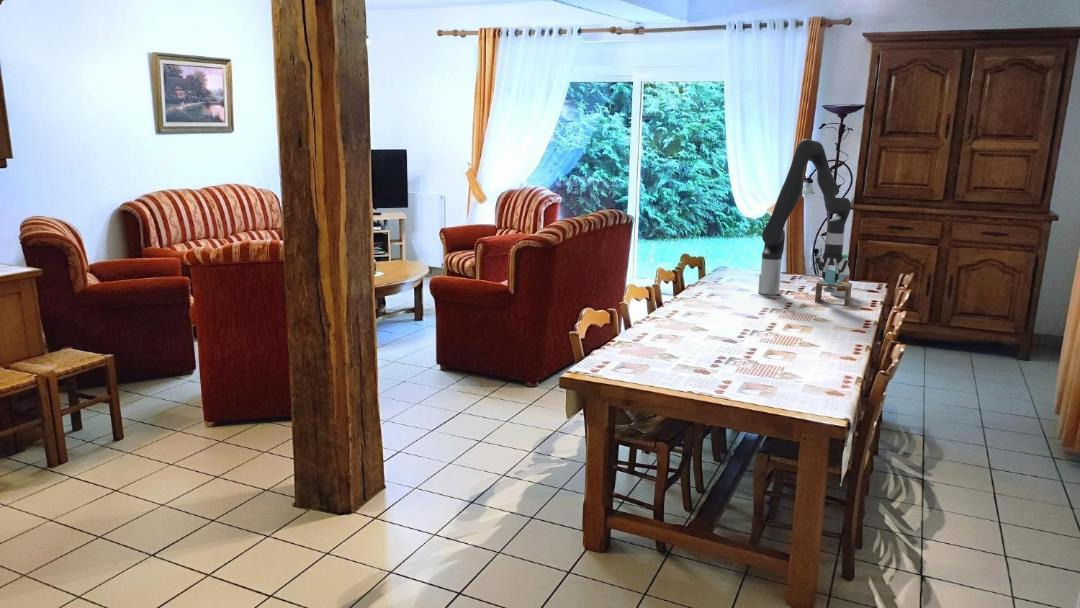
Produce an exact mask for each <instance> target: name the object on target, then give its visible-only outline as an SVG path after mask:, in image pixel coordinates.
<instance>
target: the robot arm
mask: <svg viewBox="0 0 1080 608" xmlns="http://www.w3.org/2000/svg"><path fill="white" fill-rule="evenodd" d="M792 157H793V158H792V160H791V164H790V167H789V170H788V173H787V175H786V178H785V180H784V182H783V184H782V186H781V189H780V191H779V193H778V197H777V200H776V202H775V204H774V207H773V211H772V214H771V216H770V217H769V220H768V222H767V224H766V225H765V227H764V228H763V231H762V234H761V238H762V242H763V243H764V247H763V250H762V253H761V266H760V273H759V280H758V294H761V295H765V294H768V296H769V295H770V296H776V295H777V294H778V295H779V294H780V287H781V274H782V273H781V271H782V261H783V254H784V250H785V249H784V248H785V242H786V241H785V240H786V233H785V229H784V228H785V225H786V223H787V220H788V219H789V217H790V216H791V214H792V213H793V211H794V209H795V207H797V205H798V202H799V201H800V197H801V196H802V193H803V189H804V179H803V174H804V169H805V167H806V164H807V162H811V163H812V164H813V166H814V167H815V170H816V172H817V174H816V180H817V181H816V182H817V185H818V186H819V189H820V191H821V193H822V195H823V200H824V201H823V202H824V206H825V210H826V211H827V213H829V214H832V215H835V217H833V218H831V219H829V220H828V223H827V230H826V235H825V240H824V250H823V251H824V252H823V254H822V256H817V257H816V264H817V267H818V270H819V271H822V280H823V279H824V280H825V274H826V270H827V269H829V266H833V267H835V271H836V273H835V282H836V281H837V280H838V279H839V273H842V272H843V271H844V270H845V268H846V266H847V264H849V259H848V258H847V260H846V259H844V258H843V256H842V254H843V251H844V250H843V249H844V243H845V242H844V241H845V227H846V222H847V221H848V218H849V215H850V212H851V209H852V203H851V201H850V199H849V198H848V197H836V196H837V195H839V193H840V187H839V185H838V183H837V181H836V179H835V178H834V176H833V173H832V171H831V169H830V165H829V161H828V158H827V155H826V152H825V148H824V146H823V144H822V142H819V141H816V140H812V139H808V138H804V139H802V140H800V141H799V143H798V144H797V146H796V148H795V151H794V154H793V156H792ZM823 261H824V262H825V263H824V267H823V263H822V262H823ZM841 261H843V266H842V268H841V270H839V263H840V262H841ZM778 295H777V296H778Z"/></svg>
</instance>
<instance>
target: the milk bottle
mask: <svg viewBox="0 0 1080 608" xmlns="http://www.w3.org/2000/svg"><path fill="white" fill-rule="evenodd" d="M842 256H843V258H844V259H846V260H847V259H848V258H849V257H848V256H849V255H848V254H846V253H842ZM848 264H849V263H848ZM848 264H847V266H846V268H845V270H844V271H843V272H842V273H839V279H838V280H839V282H846V283H850V268H849V265H848ZM842 266H843V261H841V262H840V263H839V270H841V268H842ZM833 269H835V266H833ZM832 288H835V290H834V292H830V295H831V296H834V297H839V298H841V297H843V298H845V291H846V288H838V287H832Z"/></svg>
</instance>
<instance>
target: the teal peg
mask: <svg viewBox="0 0 1080 608" xmlns="http://www.w3.org/2000/svg"><path fill="white" fill-rule="evenodd" d="M835 273H836V271H835V269H834V268H828V269H827V270H826V274H825V280H824V279H823V278H822V279H821V280H822V281H821V283H826V284H828V286H824V287H823V292H827V293H831V292H834V290H835V288H832V284H835V285H837V284H838V283H839V280H837V281H836V282H835Z"/></svg>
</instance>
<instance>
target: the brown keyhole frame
mask: <svg viewBox="0 0 1080 608" xmlns="http://www.w3.org/2000/svg"><path fill="white" fill-rule="evenodd" d="M822 280H823V279H820V280H818V281H817V282H816V285H815V295H814V297H815V298H814V303H819V302H820V301H821V300H822V292H823V287H828V284H826V283H821V281H822ZM852 286H853V283H852V282H849V283H846V282H839V283H838V284H837V285H835V284H832V287H838V288H846V291H845V297H844V302H843V303H844V305H845V306H846V307H847V306H849V304H850V303H851V299H852V298H851V295H852V288H853V287H852ZM844 305H843V306H844Z"/></svg>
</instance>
